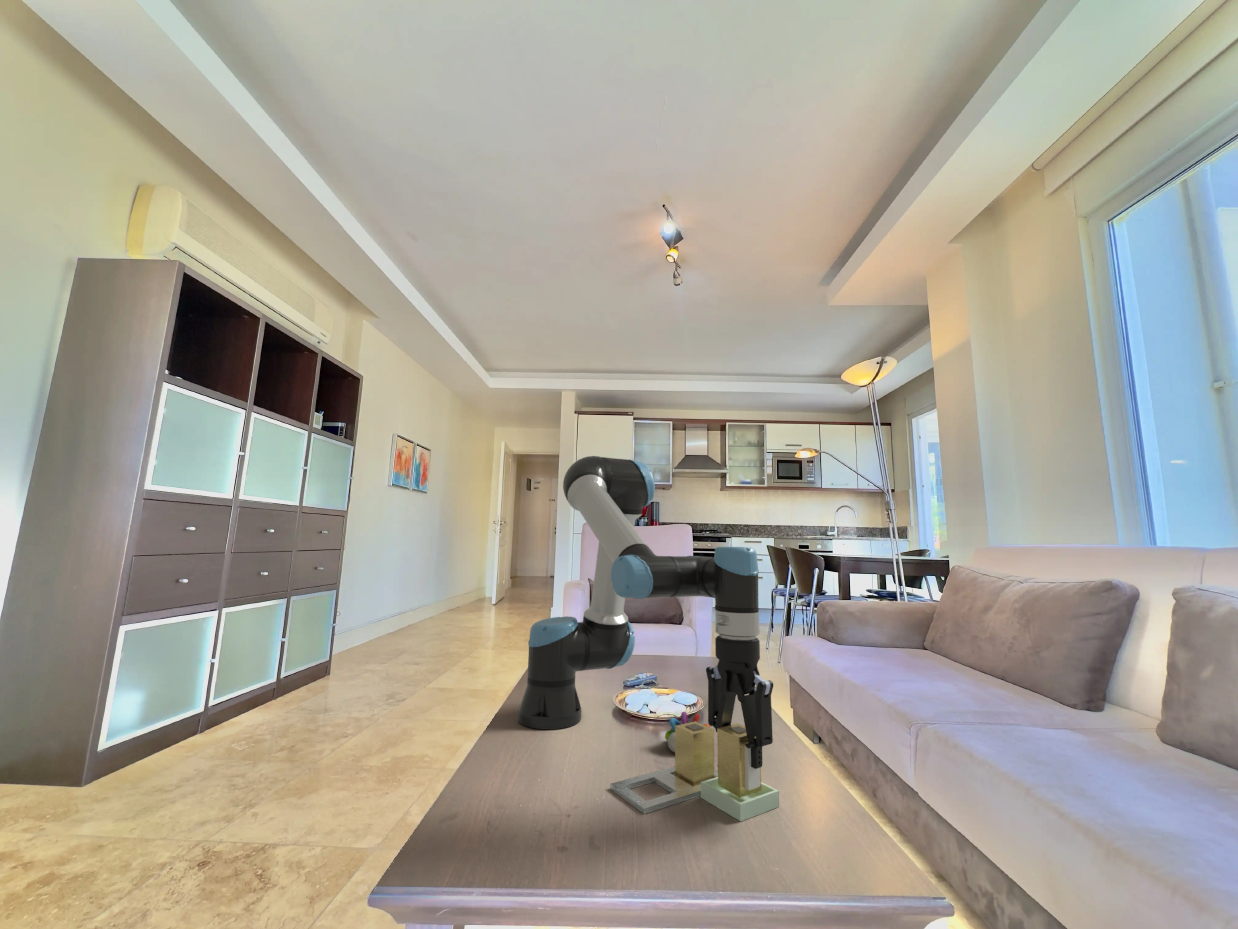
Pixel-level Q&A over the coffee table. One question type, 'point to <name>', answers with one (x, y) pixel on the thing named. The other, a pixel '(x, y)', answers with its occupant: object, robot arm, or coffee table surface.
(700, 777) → the tan textured tower
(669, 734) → the colorful toy
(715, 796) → the tray
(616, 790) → the grey frame plate
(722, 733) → the brass block
